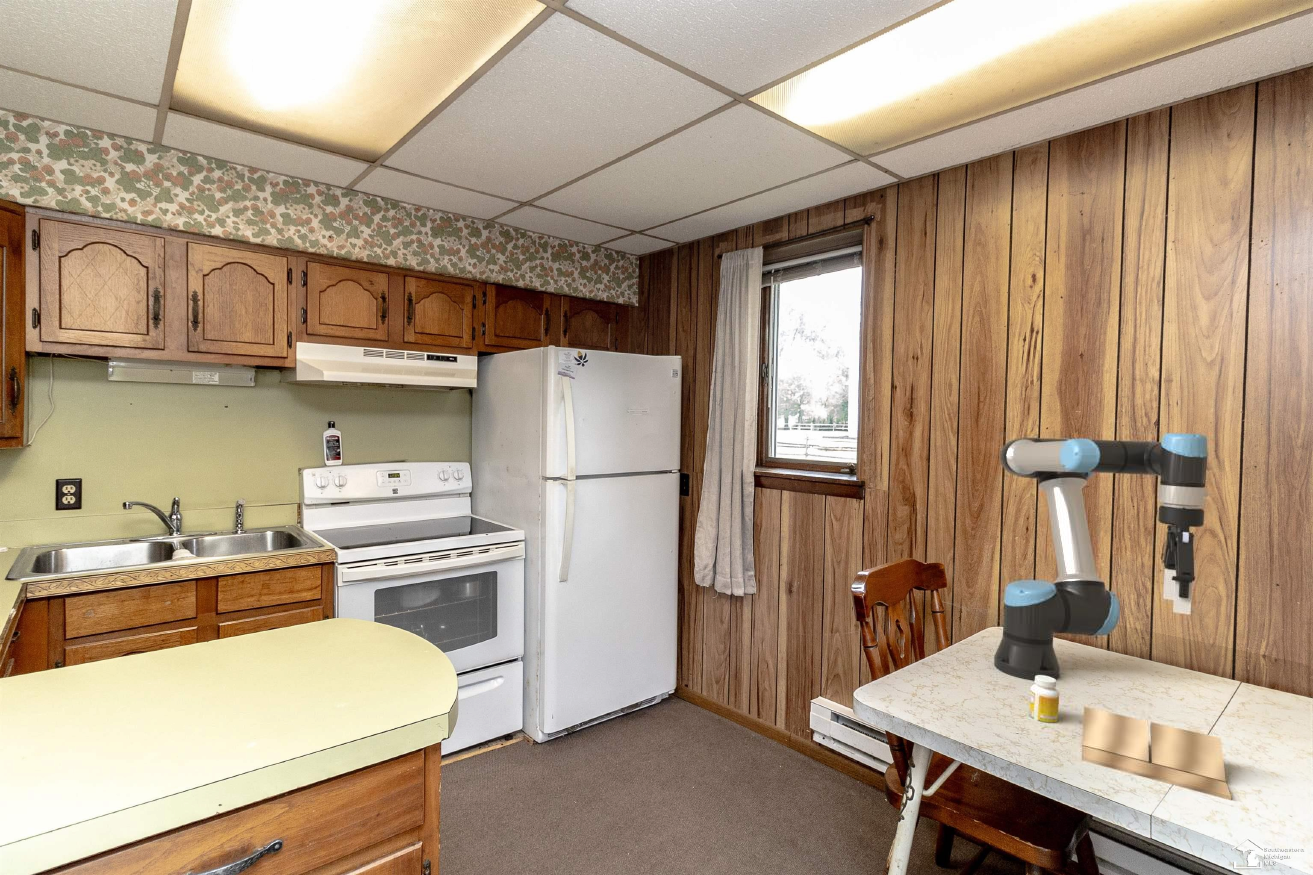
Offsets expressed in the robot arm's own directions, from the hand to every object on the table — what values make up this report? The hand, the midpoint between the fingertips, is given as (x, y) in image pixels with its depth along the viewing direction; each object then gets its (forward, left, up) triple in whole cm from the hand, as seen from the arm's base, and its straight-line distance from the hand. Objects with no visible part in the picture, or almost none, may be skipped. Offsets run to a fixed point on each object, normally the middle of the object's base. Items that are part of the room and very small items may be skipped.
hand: (1176, 606), depth 139 cm
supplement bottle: (-23, -11, -27) cm, 37 cm away
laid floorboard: (-5, -26, -27) cm, 38 cm away
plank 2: (+1, -18, -24) cm, 30 cm away
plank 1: (-10, -18, -24) cm, 32 cm away
